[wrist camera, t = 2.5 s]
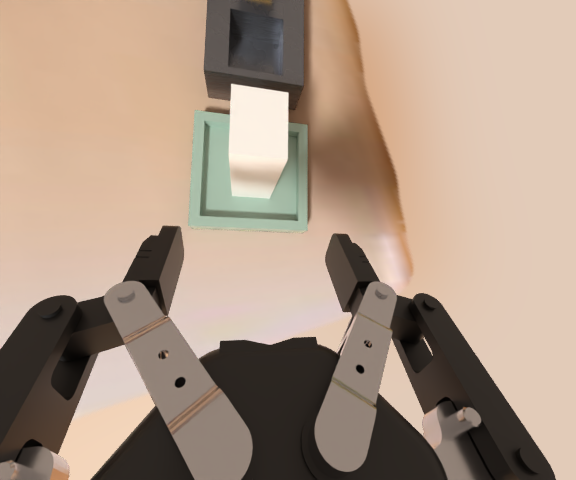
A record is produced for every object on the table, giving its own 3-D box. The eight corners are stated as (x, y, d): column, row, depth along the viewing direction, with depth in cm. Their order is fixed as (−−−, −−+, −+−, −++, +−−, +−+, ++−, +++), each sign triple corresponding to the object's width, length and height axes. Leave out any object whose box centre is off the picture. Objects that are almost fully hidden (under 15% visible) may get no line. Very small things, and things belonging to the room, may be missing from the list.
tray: (191, 228, 26) (188, 225, 24) (197, 121, 27) (194, 110, 25) (302, 233, 28) (307, 230, 26) (302, 134, 29) (307, 124, 28)
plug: (231, 196, 26) (228, 153, 16) (233, 151, 27) (231, 83, 17) (269, 198, 27) (287, 159, 17) (270, 154, 27) (288, 92, 18)
